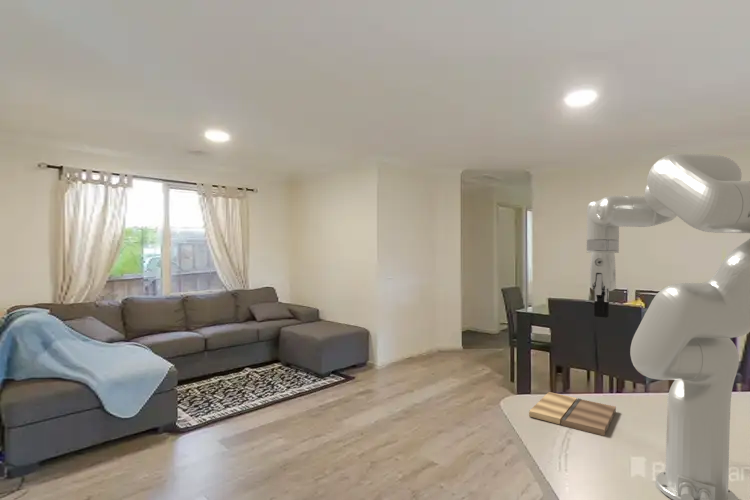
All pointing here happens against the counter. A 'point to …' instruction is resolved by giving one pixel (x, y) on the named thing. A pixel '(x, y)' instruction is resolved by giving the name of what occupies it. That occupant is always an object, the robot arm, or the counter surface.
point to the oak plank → (552, 407)
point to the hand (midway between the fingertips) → (601, 316)
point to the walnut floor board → (589, 416)
